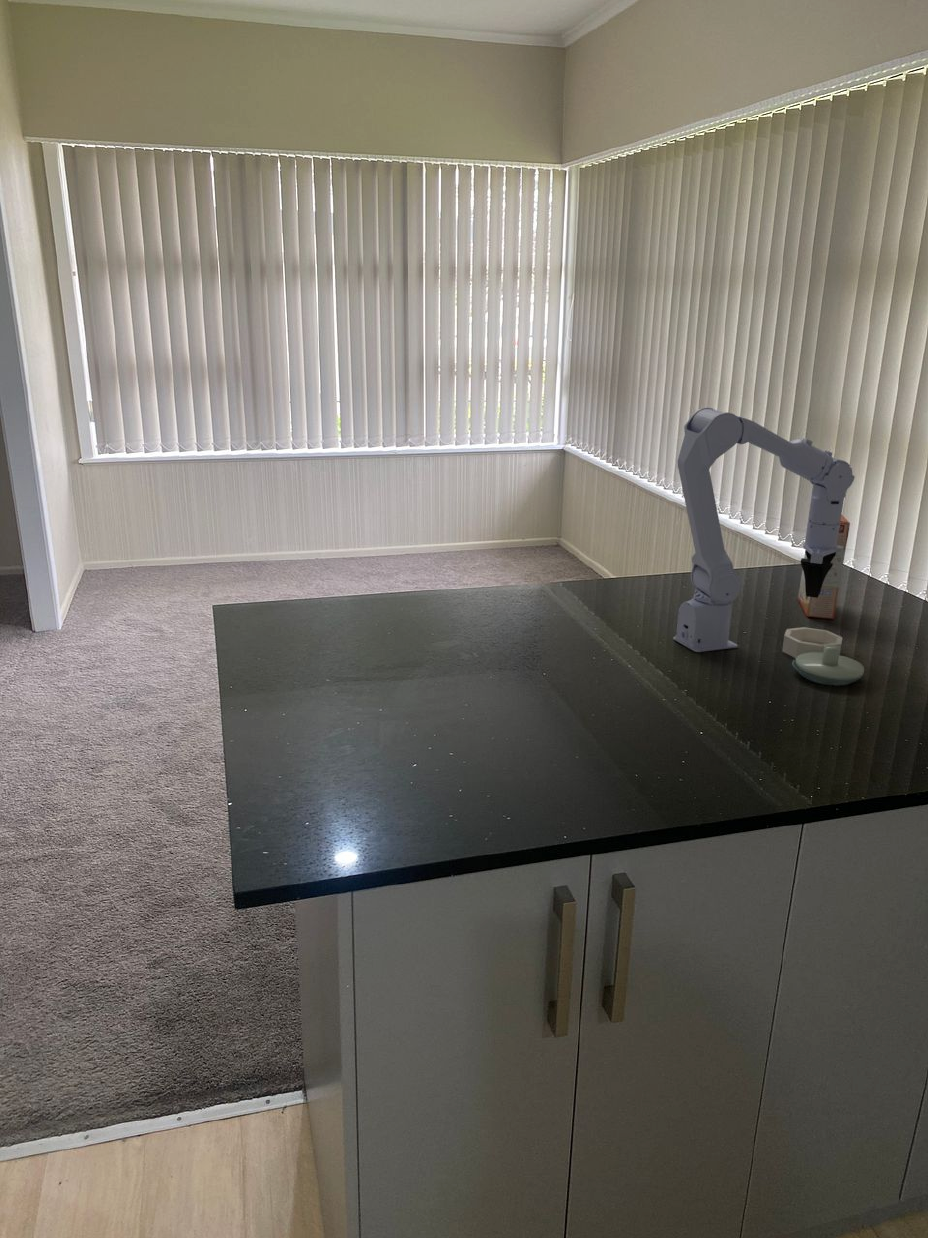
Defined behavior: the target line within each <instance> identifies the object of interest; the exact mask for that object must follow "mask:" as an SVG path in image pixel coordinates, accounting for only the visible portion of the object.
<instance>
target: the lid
mask: <svg viewBox="0 0 928 1238" xmlns="http://www.w3.org/2000/svg"><path fill="white" fill-rule="evenodd" d="M839 654H840V655H839ZM795 659H796V666H797V667H798V668H799V669H800V670H802V671H804V673H806V674H809V675H812V676H816V677H820V678H825V679H832V680H852V679H857V678H860V677H861V676H862V675H863V673H865V666H864V665H863V664H862V663H861V662H859V661H857V660H855V659H853V658H850V657H848V656H845V655H841V650H840V647H838V646H835V645H825V647H824V653H822V652H810V653H804V654H800V655H799V656H797V658H795ZM863 676H864V675H863ZM863 676H862V677H863ZM862 677H861V678H862ZM861 678H860V679H861Z"/></svg>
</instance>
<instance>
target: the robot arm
mask: <svg viewBox="0 0 928 1238" xmlns="http://www.w3.org/2000/svg"><path fill="white" fill-rule="evenodd" d="M683 429H684V430H683V431H684V437H683V439H682V444H681V447H680V450H679V454H678V458H677V468H678V474H679V479H680V483H681V488H682V493H683V499H684V503H685V509H686V513H687V518H688V521H689V528H690V533H691V536H692V542H693V546H694V550H695V551H694V554H693V555H692V557H691V563H692V565H691V566H692V567H691V571H690V581H691V584H692V586H693V587H694V593H693V594H694V595H693V597H692V598H691V599H690V600H687V601H683V602H682V603H681V604H680V606H679V608H678V612H677V619H676V621H677V622H676V623H677V624H676V629H675V630H676V633H675V636H673V638H672V639H673V640H674V641H676V642H678V643H679V644H681V645H682V646H684V647H686V648H688V649H689V650H691V651H693V652H695V653H702V652H709V651H710V652H711V651H717V650H718V651H720V650H726V649H736V648H738V644H737V643H735V642H733V641H731V640H729V638H730V628H731V620H732V611H733V603H734V600H735V599H736V598H737V597H738V596H739V594H740V592H741V589H742V581H741V577H740V576H739V575H738V574H737V573H736V572H735V569H734V565H733V564H734V563H733V562H732V560H731V558H730V557H729V555H728V554H727V552H726V551H727V550H726V549H725V544H724V539H723V534H722V529H721V524H720V518H719V514H718V513H719V512H718V508H717V504H716V503H717V502H716V499H715V493H714V487H713V483H712V482H713V481H712V477H711V476H712V475H711V471H710V468H711V467H712V466H713V464H715V462H716V460H717V459H719V458H720V457H721V456H723V455H724V454H725V453H727V452H728V451H729V450H730V449H732V448H733V447H734V446H736V444H738V445H744V444H746V443H749V444H751V445H754V446H755V447H757V448H759V449H762V450H764V451H766V452H767V453H770V454H772V455H775V456H776V457H778V458H779V463H780V465H781V467H782V468H784V469H785V470H787V471H790V472H791V473H794V474H796V475H797V476H799V477H801V478H803V479H806V480H807V481H809V483H810V484H812V490H811V497H810V505H809V511H808V512H809V513H808V517H807V518H808V519H807V524H806V533H805V537H804V538H805V539H804V542H803V545H802V548H803V549H804V554H805V553H806V556H807V559H805V558H804V557H803V558H802V557H801V559H800V566H801V568H802V570H803V571H804V576H805V591H806V596H807V597H815V598H818V596H819V594H820V591H821V588H822V585H823V582H824V579H825V577H826V575H827V573H828V572H829V570H830V569H831V567H832V566H833V563H831V561H832V559H833V558H834V557H835V555H836V551H837V552H842V551H843V547H842V546H837V541H838V534H839V528H840V522H841V515H843V510H844V509H843V508H844V501H845V498H846V494H847V491H848V489H850V487H851V486H852V485H853V483H854V481H855V478H856V477H855V475H853V468H852V467H851V465H850V463H849V462H847V461H846V460H842V459H839V458H836V457H833V452H831V451H830V450H824V451H823V450H821V449H820V448H817V447H816V446H814V445H812V444H813V440H810V439H809V438H805V437H804V438H802V439H801V438H794V439H792V440H789V441H788V440H787V439H785V438H783V437H782V436H780V435H778V434H776V433H774V432H773V431H772V430H770V429H767V428H766V427H764V426H762V425H760V424H759V423H757V422H755V421H754V420H751V419H748V418H746V417H741V416H738V415H736V414H735V413H731V412H724V411H721V410H717V409H714V408H712V407H702V408H699V409H697V410H696V411H694V413H693V414H692V415H691V416H690V418H689V419H688V420H687V421H686V423H685V424H684V428H683Z"/></svg>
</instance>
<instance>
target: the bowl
mask: <svg viewBox="0 0 928 1238" xmlns="http://www.w3.org/2000/svg"><path fill="white" fill-rule="evenodd" d="M842 641H843V637H842V636H841V635H837V634H836V633H833V632H832V631H829V630H827V629H818V628H812V627H802V626H801V627H793V628H786V630H785V632H784V636H783V642H782V650H781V651H782V653H784V654H787V655H789V656H790V657H792V658H794V659H796V658H797V656H799V655H800V654H804V653H810V652H822V653H824V647H825V645H835V646H838V647H840V651H841V649H842V644H843V643H842ZM839 655H841V653H840V654H839Z"/></svg>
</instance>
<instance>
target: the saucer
mask: <svg viewBox="0 0 928 1238" xmlns="http://www.w3.org/2000/svg"><path fill="white" fill-rule="evenodd" d="M791 665H792V666H793V668H794V669H795V671H796V672H797V673H798V674H800V675H801V676H802V677H803V678H805V679H806V680H807V681H811V682H813V683H816V684H820V685H823V686H824V685H826V686H832V685H834V686H835V687H836V686H837V687H838V686H839V687H840V685H841V686H846V685H850V684H853V683H855V682H857V681H858V680H860V679H862V677H864V675H865V674H864V673H865V672H864V673H863V675H862V676H861V677H860V678H857V679H852V680H835V679H827V678H822V677H818V676H814V675H811V674H808V673H806V672H804V671H802V670H800V669H799V668H798V667H797V666H796V658H794V659H793V660H792V663H791Z"/></svg>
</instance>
